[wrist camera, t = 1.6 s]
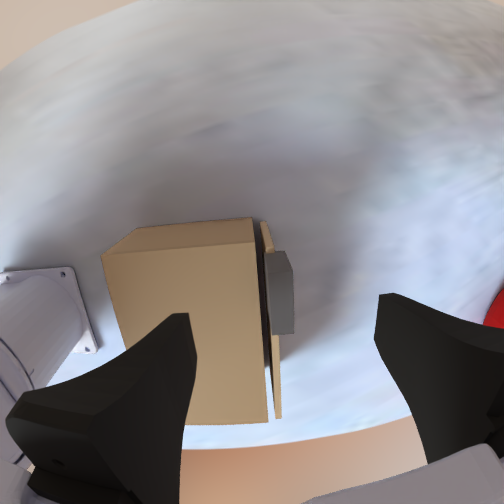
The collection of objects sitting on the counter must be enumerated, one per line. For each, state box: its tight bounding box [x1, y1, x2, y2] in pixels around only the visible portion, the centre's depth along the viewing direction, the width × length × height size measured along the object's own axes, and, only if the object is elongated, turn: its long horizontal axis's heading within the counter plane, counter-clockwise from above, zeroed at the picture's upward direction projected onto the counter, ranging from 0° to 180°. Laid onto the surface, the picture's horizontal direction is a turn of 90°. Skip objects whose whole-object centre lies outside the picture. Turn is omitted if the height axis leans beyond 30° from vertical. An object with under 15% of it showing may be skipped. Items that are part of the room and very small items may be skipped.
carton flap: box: [260, 221, 294, 419], centre depth 18 cm, size 1×12×8 cm, turn 5°
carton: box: [101, 217, 268, 425], centre depth 19 cm, size 8×13×6 cm, turn 4°
